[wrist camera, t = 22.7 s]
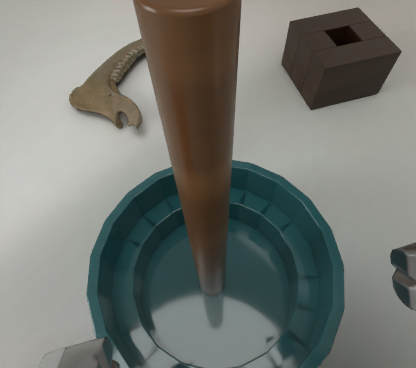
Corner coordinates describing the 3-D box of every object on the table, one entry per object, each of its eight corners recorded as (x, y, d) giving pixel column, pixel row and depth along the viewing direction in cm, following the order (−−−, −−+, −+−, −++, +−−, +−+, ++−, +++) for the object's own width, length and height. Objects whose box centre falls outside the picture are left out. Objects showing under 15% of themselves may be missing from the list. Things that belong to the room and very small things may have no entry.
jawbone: (60, 134, 31) (49, 120, 29) (119, 20, 42) (114, 5, 40) (144, 138, 30) (138, 123, 28) (184, 19, 40) (181, 2, 39)
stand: (378, 93, 32) (402, 51, 28) (310, 110, 31) (325, 68, 27) (341, 50, 36) (358, 7, 32) (281, 63, 35) (289, 20, 31)
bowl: (356, 292, 22) (397, 268, 17) (208, 468, 17) (203, 510, 12) (219, 171, 28) (220, 126, 23) (81, 279, 23) (42, 253, 18)
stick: (230, 284, 22) (266, -21, 5) (211, 301, 21) (177, 26, 4) (213, 265, 23) (191, -57, 6) (194, 282, 22) (107, -21, 5)
